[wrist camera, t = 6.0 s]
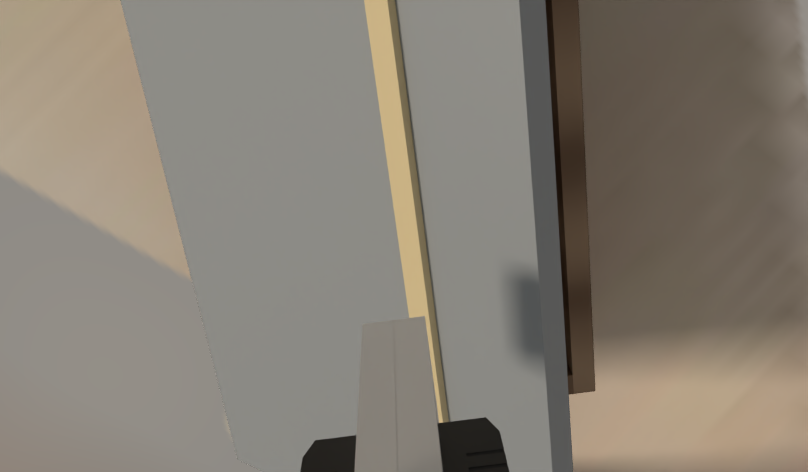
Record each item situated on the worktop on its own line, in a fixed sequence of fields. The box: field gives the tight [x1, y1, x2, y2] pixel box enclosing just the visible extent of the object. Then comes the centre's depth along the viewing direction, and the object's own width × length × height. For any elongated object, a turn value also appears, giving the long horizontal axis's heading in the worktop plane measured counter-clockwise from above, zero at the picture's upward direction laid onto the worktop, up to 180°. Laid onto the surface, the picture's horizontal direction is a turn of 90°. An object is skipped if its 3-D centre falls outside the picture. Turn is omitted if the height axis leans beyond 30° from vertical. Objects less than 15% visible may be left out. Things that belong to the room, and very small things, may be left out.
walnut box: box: [545, 0, 595, 394], centre depth 35 cm, size 22×16×7 cm
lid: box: [121, 0, 573, 472], centre depth 26 cm, size 23×17×2 cm
